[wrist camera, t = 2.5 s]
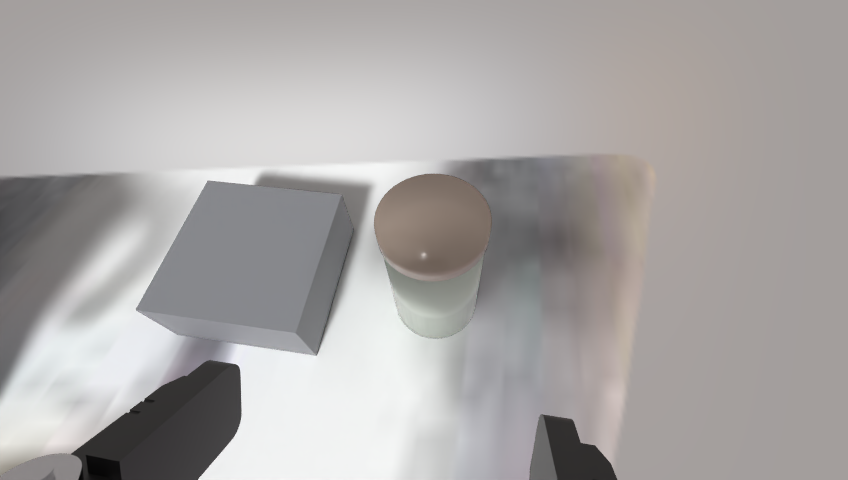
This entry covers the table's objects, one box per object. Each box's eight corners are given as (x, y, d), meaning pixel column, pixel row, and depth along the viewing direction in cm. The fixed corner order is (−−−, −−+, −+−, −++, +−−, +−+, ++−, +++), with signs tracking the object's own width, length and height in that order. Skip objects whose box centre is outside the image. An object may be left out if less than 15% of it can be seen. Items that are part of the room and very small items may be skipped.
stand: (177, 334, 25) (135, 310, 22) (234, 216, 30) (207, 180, 26) (316, 355, 24) (295, 333, 21) (353, 229, 29) (341, 194, 25)
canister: (387, 333, 25) (362, 263, 17) (403, 259, 27) (387, 169, 20) (473, 346, 24) (487, 278, 16) (480, 268, 27) (495, 178, 19)
